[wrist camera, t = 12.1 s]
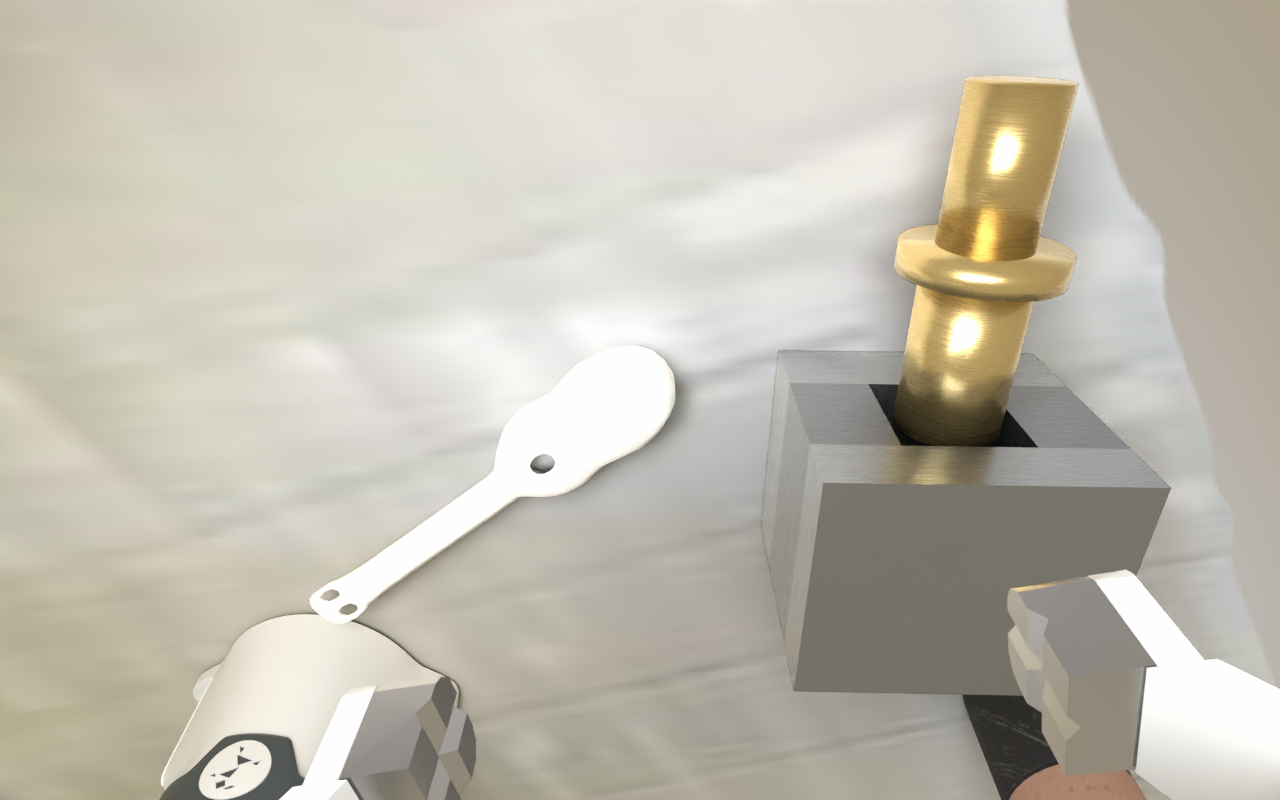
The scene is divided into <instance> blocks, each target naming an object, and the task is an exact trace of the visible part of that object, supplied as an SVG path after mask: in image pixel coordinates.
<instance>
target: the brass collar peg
mask: <svg viewBox="0 0 1280 800" xmlns="http://www.w3.org/2000/svg"><path fill="white" fill-rule="evenodd" d="M1078 85H1079V83H1077V82H1074V81H1069V80H1062V79H1053V78H1042V77H1025V76H974V77H967V78H965V83H964V88H963V93H962V99H961V104H960V109H959V115H958V120H957V125H956V130H955V136H954V141H953V146H952V152H951V157H950V162H949V167H948V173H947V178H946V183H945V188H944V194H943V199H942V204H941V210H940V215H939V220H938V224H935V225H926V226H919V227H915V228H911V229H908V230H906V231H904V232H903V233H901V234H900V235H899V238H898V243H897V249H896V255H895V261H894V269H895V270H896V272H897V273H898V274H899V275H900V276H902V277H903V278H905V279H906V280H908V281H910V282H912V283H914V284H916V285H917V286H916V291H915V297H914V302H913V308H912V313H911V319H910V324H909V329H908V335H907V340H906V346H905V351H904V357H903V362H902V368H901V373H900V379H899V384H898V390H897V395H896V400H895V406H894V411H893V421H894V424H895V425H896V426H897V428H898V429H899V430H900V431H902V432H903V433H904V434H906V435H907V436H909V437H911V438H912V439H914V440H917V441H919V442H921V443H924V444H927V445H930V446H961V447H988V446H991V445H992V444H994V443H995V442H996V441H997V440H998V438H999V434H1000V430H1001V426H1002V423H1003V419H1004V415H1005V411H1006V407H1007V403H1008V400H1009V396H1010V392H1011V388H1012V384H1013V380H1014V377H1015V373H1016V369H1017V365H1018V361H1019V357H1020V354H1021V350H1022V346H1023V342H1024V338H1025V334H1026V331H1027V327H1028V323H1029V319H1030V315H1031V311H1032V308H1033V304H1034V301H1040V300H1046V299H1051V298H1054V297H1057V296H1059V295H1061V294H1063V293H1064V292H1066V291H1067V289H1068V286H1069V283H1070V279H1071V276H1072V272H1073V269H1074V265H1075V262H1076V255H1075V253H1074V252H1073V251H1072V250H1071V249H1070V248H1068V247H1067V246H1065V245H1063V244H1061V243H1059V242H1057V241H1054V240H1051V239H1049V238H1046V237H1042V236H1040V234H1041V230H1042V226H1043V222H1044V218H1045V215H1046V211H1047V207H1048V203H1049V199H1050V195H1051V191H1052V187H1053V183H1054V179H1055V175H1056V171H1057V167H1058V163H1059V159H1060V155H1061V152H1062V148H1063V144H1064V140H1065V136H1066V132H1067V128H1068V124H1069V120H1070V116H1071V112H1072V108H1073V104H1074V100H1075V96H1076V92H1077V89H1078Z"/></svg>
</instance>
